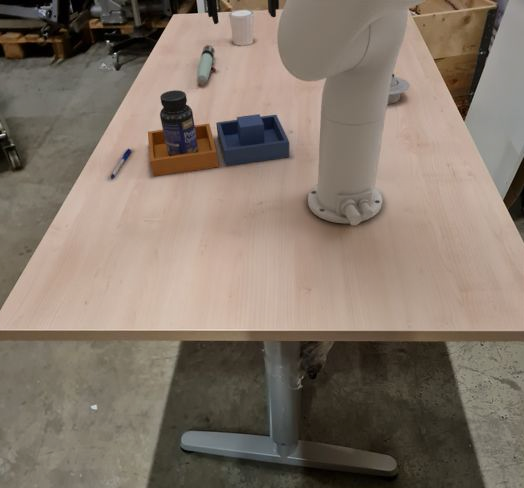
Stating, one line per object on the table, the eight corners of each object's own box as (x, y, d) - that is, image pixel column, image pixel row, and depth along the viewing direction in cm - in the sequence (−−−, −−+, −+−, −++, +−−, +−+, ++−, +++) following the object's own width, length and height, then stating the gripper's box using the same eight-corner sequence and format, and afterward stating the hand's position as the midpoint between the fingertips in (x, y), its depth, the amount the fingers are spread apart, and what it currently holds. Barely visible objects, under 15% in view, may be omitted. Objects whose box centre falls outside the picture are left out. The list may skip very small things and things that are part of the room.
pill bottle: (193, 162, 93) (183, 103, 85) (163, 160, 94) (151, 102, 86) (202, 146, 97) (193, 88, 88) (173, 145, 98) (162, 87, 89)
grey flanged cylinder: (385, 47, 95) (428, 38, 97) (360, 33, 101) (400, 24, 103) (376, 111, 105) (416, 101, 107) (354, 94, 111) (391, 85, 113)
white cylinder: (227, 40, 138) (225, 12, 133) (249, 36, 140) (247, 7, 134) (237, 47, 134) (234, 18, 129) (259, 43, 136) (257, 13, 130)
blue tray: (289, 157, 94) (289, 141, 91) (225, 166, 93) (223, 150, 90) (276, 129, 101) (276, 114, 99) (217, 137, 100) (216, 122, 98)
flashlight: (214, 80, 116) (220, 49, 129) (197, 71, 114) (205, 41, 127) (209, 92, 118) (216, 61, 131) (192, 84, 117) (201, 53, 129)
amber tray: (218, 167, 93) (216, 151, 90) (153, 176, 92) (149, 160, 89) (211, 138, 100) (209, 123, 98) (151, 146, 99) (147, 131, 97)
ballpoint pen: (127, 152, 99) (126, 147, 98) (131, 151, 98) (130, 147, 98) (110, 179, 92) (109, 174, 91) (115, 179, 92) (113, 174, 91)
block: (264, 147, 95) (263, 124, 92) (242, 150, 95) (240, 127, 92) (260, 136, 98) (259, 113, 95) (238, 139, 98) (236, 117, 95)
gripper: (174, -117, 64) (194, 31, 77) (300, -128, 65) (299, 19, 78) (171, -123, 69) (190, 17, 82) (288, -134, 70) (289, 6, 83)
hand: (243, 18), depth 80 cm, fingers open, 9 cm apart
